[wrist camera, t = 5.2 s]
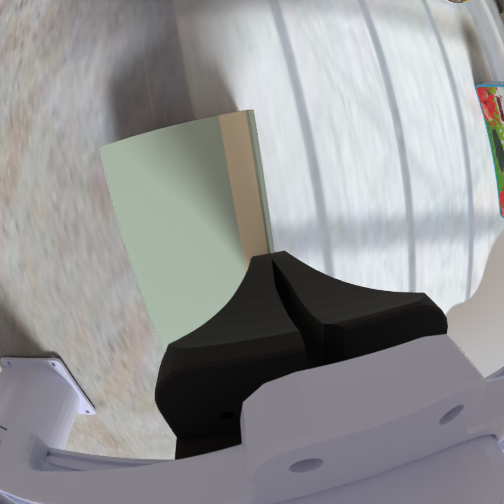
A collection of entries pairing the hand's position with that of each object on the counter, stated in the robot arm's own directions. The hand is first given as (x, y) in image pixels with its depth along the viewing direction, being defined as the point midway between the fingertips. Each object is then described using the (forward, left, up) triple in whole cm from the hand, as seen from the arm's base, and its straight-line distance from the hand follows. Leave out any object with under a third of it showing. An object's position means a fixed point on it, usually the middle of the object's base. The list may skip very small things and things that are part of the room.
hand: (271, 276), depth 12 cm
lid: (-3, 0, -2) cm, 4 cm away
